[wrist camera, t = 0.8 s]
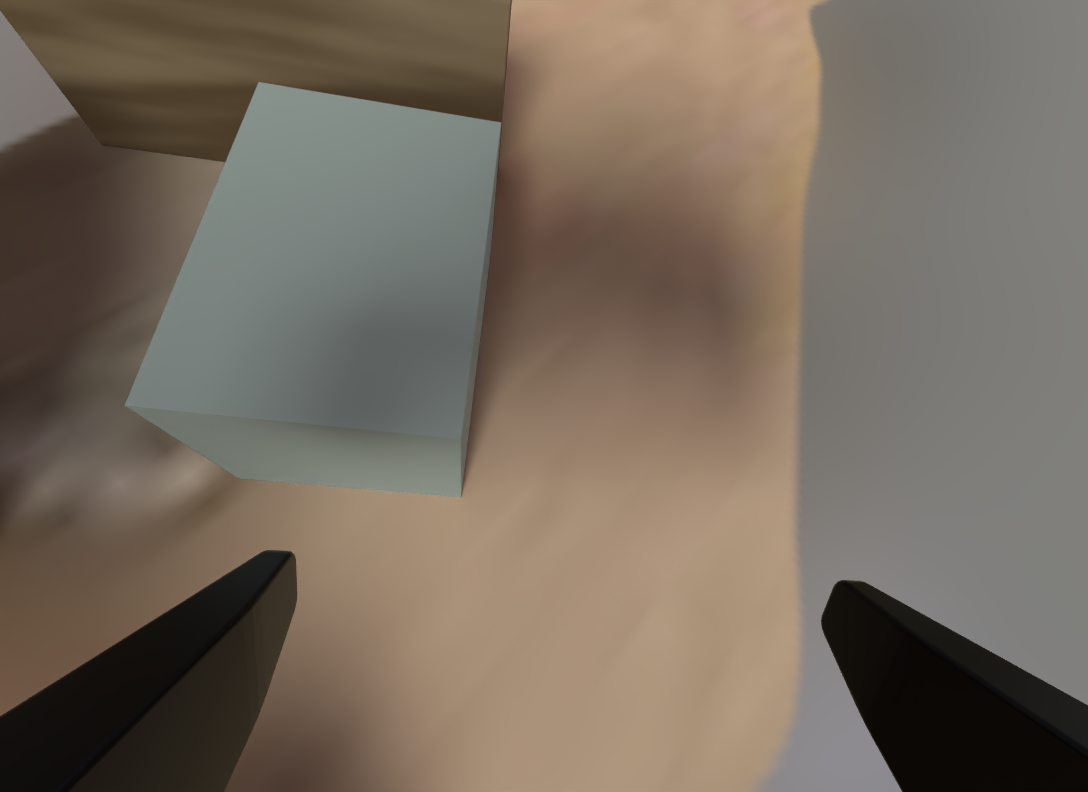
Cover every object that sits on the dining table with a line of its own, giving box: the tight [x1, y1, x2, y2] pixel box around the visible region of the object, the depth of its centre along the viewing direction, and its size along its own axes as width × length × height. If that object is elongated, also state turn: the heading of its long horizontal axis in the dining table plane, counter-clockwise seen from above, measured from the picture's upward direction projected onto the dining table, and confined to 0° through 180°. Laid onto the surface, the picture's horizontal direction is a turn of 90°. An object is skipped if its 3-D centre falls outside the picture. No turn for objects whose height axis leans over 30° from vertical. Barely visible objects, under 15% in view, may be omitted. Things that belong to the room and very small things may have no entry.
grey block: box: [125, 82, 501, 498], centre depth 21 cm, size 13×9×8 cm
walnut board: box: [0, 0, 512, 185], centre depth 24 cm, size 2×20×10 cm, turn 88°
